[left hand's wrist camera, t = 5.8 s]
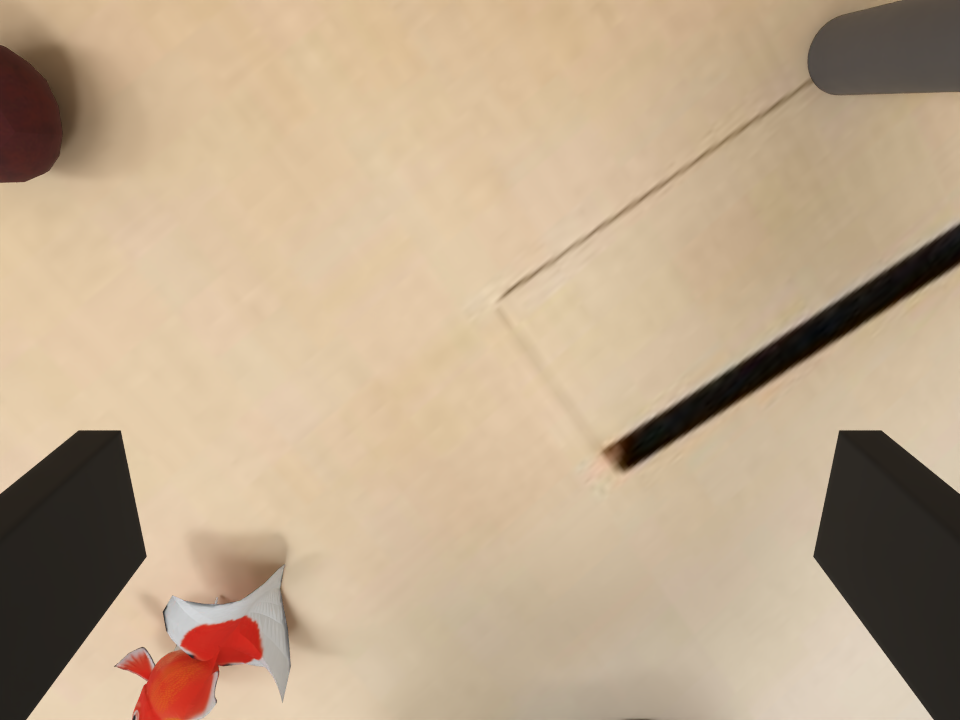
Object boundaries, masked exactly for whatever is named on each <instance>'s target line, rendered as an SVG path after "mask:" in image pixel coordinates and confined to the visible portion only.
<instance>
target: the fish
mask: <svg viewBox="0 0 960 720" xmlns="http://www.w3.org/2000/svg"><path fill="white" fill-rule="evenodd" d="M284 567H285V564H284V565H283V566H282V567H280V568H279V569H278V570H277V571H276V572H275V573H274V574H273V575H272V576H271V577H270V578H269V579H268V580H267V581H266V582H265V583H264V584H263V585H261V586H260V587H259V588H257V589H256V590H255V591H253V592H252V593H251V594H249V595H248V596H246V597H245V598H243V599H242V600H240V601H236V602H232V603H227V604H217V601H218V597H217V598H216V601H215V603H214V604H201V603H195V602H189V601H184V600H182V599H180V598H177V597H175V596H173V595H172V597H171V599H170V600H169V602H168V604H167V606H166V607H165V609H164V611H163V615H164V621H165V626H166V631H167V633H168V634H169V636H170V637H171V639H172V640H173V641H174V642H175V643H176V644H177V646H176V648H175V650H174V651H173V652H171V653H168V654H167V655H165V656H164V657H163V658H161V659H160V660H159V661H158V663H157V664H156V665H155V664H154V662H153V659H152V657H151V656H150V654H149V653H148V651H147V650H146V649H145V648H144V647H141V648H138V649H136V650H134V651H132V652H130V653H128V654H127V655H126V656H125V657H124V658H123V659H122V660H121V661H120V662H119V663H118V664H116V665H115V666H116V667H118V668H121V669H123V670H128V671H130V672H132V673H135V674H137V675H139V676H140V677H142V678H143V679H145V680H146V681H148V682H147V684H145V685H144V686H143V689H142V691H141V694H140V697H139V700H138V702H137V704H136V707H135V709H134V712H133V717H132V720H199V719H202V718H204V717H205V716H206V715H207V714H209V713H210V711H211V710H212V709H213V707H214V706H215V705H216V703H217V700H216V698H215V687H216V683H217V680H218V677H219V667H218V665H220V666H228V665H237V664H250V665H255V666H262V667H265V668H266V669H267V670H268V671H269V672H270V673H271V675H272V676H273V678H274V680H275V682H276V684H277V686H278V689H279V692H280V695H281V699H282V703H283V698H284V694H285V689H286V685H287V681H288V676H289V672H290V667H291V663H290V651H289V638H288V628H287V623H286V618H285V613H284V608H283V602H282V596H281V590H280V586H281V581H282V576H283V570H284ZM115 666H114V667H115Z"/></svg>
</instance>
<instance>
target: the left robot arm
mask: <svg viewBox="0 0 960 720" xmlns="http://www.w3.org/2000/svg"><path fill="white" fill-rule="evenodd" d="M146 557H147V556H146V551H145V546H144V541H143V536H142V532H141V527H140V522H139V517H138V512H137V507H136V503H135V498H134V493H133V488H132V483H131V478H130V473H129V469H128V464H127V459H126V454H125V449H124V444H123V439H122V435H121V431H77V432H76V433H75V434H74V435H73V436H71V437H70V438H69V439H68V440H66V441H65V442H64V443H63V444H61V445H60V446H59V447H58V448H57V449H55V450H54V451H53V452H52V453H50V454H49V455H48V456H47V457H45V458H44V459H43V460H42V461H41V462H39V463H38V464H37V465H36V466H34V467H33V468H32V469H31V470H29V471H28V472H27V473H26V474H24V475H23V476H22V477H21V478H20V479H18V480H17V481H16V482H15V483H13V484H12V485H11V486H10V487H8V488H7V489H6V490H5V491H4V492H2V493H1V494H0V720H26V719H27V718H28V717H29V715H30V714H31V712H32V711H33V710H34V708H35V707H36V706H37V704H38V703H39V702H40V700H41V699H42V698H43V696H44V695H45V694H46V692H47V691H48V689H49V688H50V687H51V685H52V684H53V683H54V681H55V680H56V679H57V677H58V676H59V675H60V673H61V672H62V670H63V669H64V668H65V666H66V665H67V664H68V662H69V661H70V660H71V658H72V657H73V656H74V654H75V653H76V652H77V650H78V649H79V647H80V646H81V645H82V643H83V642H84V641H85V639H86V638H87V637H88V635H89V634H90V633H91V631H92V630H93V629H94V627H95V626H96V624H97V623H98V622H99V620H100V619H101V618H102V616H103V615H104V614H105V612H106V611H107V610H108V608H109V607H110V605H111V604H112V603H113V601H114V600H115V599H116V597H117V596H118V595H119V593H120V592H121V591H122V589H123V588H124V587H125V585H126V584H127V582H128V581H129V580H130V578H131V577H132V576H133V574H134V573H135V572H136V570H137V569H138V568H139V566H140V565H141V564H142V562H143V561H144V559H145V558H146ZM813 557H814V558H815V559H816V561H817V562H818V564H819V565H820V566H821V568H822V569H823V570H824V572H825V573H826V574H827V576H828V577H829V578H830V580H831V581H832V582H833V584H834V585H835V587H836V588H837V589H838V591H839V592H840V593H841V595H842V596H843V597H844V599H845V600H846V601H847V603H848V604H849V605H850V607H851V608H852V610H853V611H854V612H855V614H856V615H857V616H858V618H859V619H860V620H861V622H862V623H863V624H864V626H865V627H866V629H867V630H868V631H869V633H870V634H871V635H872V637H873V638H874V639H875V641H876V642H877V643H878V645H879V646H880V647H881V649H882V650H883V652H884V653H885V654H886V656H887V657H888V658H889V660H890V661H891V662H892V664H893V665H894V666H895V668H896V669H897V670H898V672H899V673H900V675H901V676H902V677H903V679H904V680H905V681H906V683H907V684H908V685H909V687H910V688H911V689H912V691H913V692H914V694H915V695H916V696H917V698H918V699H919V700H920V702H921V703H922V704H923V706H924V707H925V708H926V710H927V711H928V712H929V714H930V715H931V717H932V718H933V719H934V720H960V494H959V493H958V492H956V491H955V490H954V489H953V488H952V487H950V486H949V485H948V484H947V483H945V482H944V481H943V480H942V479H940V478H939V477H938V476H937V475H936V474H934V473H933V472H932V471H931V470H929V469H928V468H927V467H926V466H924V465H923V464H922V463H921V462H919V461H918V460H917V459H916V458H915V457H913V456H912V455H911V454H910V453H908V452H907V451H906V450H905V449H903V448H902V447H901V446H900V445H899V444H897V443H896V442H895V441H894V440H892V439H891V438H890V437H889V436H887V435H886V434H885V433H884V432H883V431H839V435H838V439H837V444H836V449H835V454H834V459H833V464H832V469H831V473H830V478H829V483H828V488H827V493H826V498H825V503H824V507H823V512H822V517H821V522H820V527H819V532H818V536H817V541H816V546H815V551H814V556H813Z"/></svg>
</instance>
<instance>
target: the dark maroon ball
mask: <svg viewBox="0 0 960 720" xmlns="http://www.w3.org/2000/svg"><path fill="white" fill-rule="evenodd" d="M62 135H63V132H62V126H61V119H60V113H59V107H58V104H57V102H56V100H55V98H54V96H53V94H52V92H51V90H50V87H49V85H48V83H47V81H46V80H45V79H44V78H43V77H42V76H41V75H40V74H39V73H38V72H37V71H36V70H35V69H34V67H33V66H32V65H31V64H29V63H28V62H27V61H25V60H24V59H23V58H21V57H20V56H18V55H17V54H15V53H14V52H12V51H11V50H9V49H8V48H6V47H4V46H1V45H0V183H5V182H26V181H28V180H30V179H33V178H35V177H37V176H40V175H42V174H44V173H46V172H48V171H49V170H50V169H51V167H52V166H53V164H54V163H55V161H56V160H57V158H58V157H59V154H60V148H61V141H62Z"/></svg>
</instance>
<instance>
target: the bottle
mask: <svg viewBox="0 0 960 720" xmlns="http://www.w3.org/2000/svg"><path fill="white" fill-rule="evenodd" d="M808 69H809V73H810V76H811V78H812V80H813V82H814V83H815V85H816V86H817V87H818V88H820V89H821V90H822V91H824V92H826V93H829V94H833V95H860V94H896V93H932V92H960V0H901V1H897V2H893V3H889V4H885V5H881V6H877V7H873V8H869V9H865V10H861V11H857V12H853V13H849V14H845V15H841V16H839V17H836V18H834V19H832V20H831V21H829V22H828V23H827V24H826V25H824V26H823V27H822V28H821V30H820V31H819V32H818V33H817V35H816V36H815V38H814V40H813V42H812V44H811V47H810V50H809V54H808Z"/></svg>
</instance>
